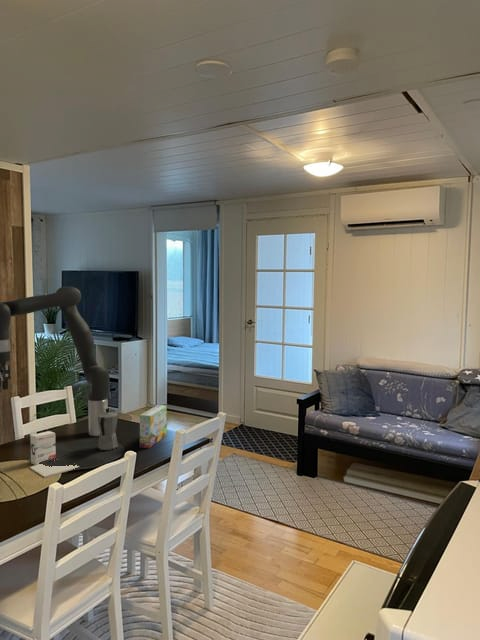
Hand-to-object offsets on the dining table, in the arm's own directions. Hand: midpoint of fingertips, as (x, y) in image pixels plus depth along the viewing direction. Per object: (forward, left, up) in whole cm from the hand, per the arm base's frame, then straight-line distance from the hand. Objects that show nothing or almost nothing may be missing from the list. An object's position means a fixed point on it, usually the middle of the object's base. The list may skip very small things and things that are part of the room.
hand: (1, 388), depth 199 cm
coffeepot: (-36, +24, -29) cm, 52 cm away
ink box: (-9, +20, -29) cm, 36 cm away
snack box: (-57, +30, -29) cm, 71 cm away
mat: (-9, +30, -29) cm, 43 cm away
